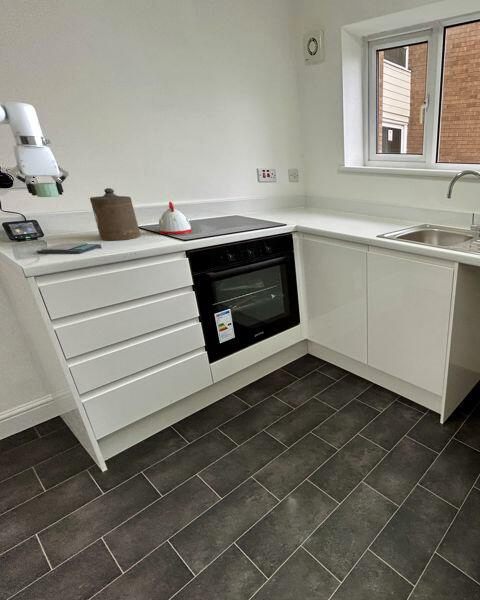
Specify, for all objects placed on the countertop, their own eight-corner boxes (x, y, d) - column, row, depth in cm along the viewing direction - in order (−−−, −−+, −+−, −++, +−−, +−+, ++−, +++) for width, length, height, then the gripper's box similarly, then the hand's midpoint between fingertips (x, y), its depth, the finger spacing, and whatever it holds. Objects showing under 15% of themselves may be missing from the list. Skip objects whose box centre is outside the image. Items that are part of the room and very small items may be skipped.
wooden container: (115, 234, 170) (102, 186, 162) (147, 234, 171) (136, 187, 163) (92, 240, 156) (77, 189, 148) (127, 241, 157) (114, 190, 149)
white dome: (162, 235, 170) (155, 204, 164) (158, 231, 179) (151, 201, 174) (194, 233, 178) (188, 202, 172) (189, 229, 188) (183, 200, 182)
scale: (38, 257, 128) (36, 249, 127) (63, 249, 139) (61, 242, 138) (81, 257, 130) (78, 249, 129) (102, 250, 141) (100, 242, 140)
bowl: (30, 197, 126) (26, 183, 125) (45, 195, 132) (41, 182, 131) (50, 197, 127) (46, 184, 126) (64, 195, 133) (60, 183, 132)
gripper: (60, 143, 132) (75, 193, 138) (-8, 140, 119) (12, 195, 125) (65, 143, 128) (80, 194, 134) (-4, 140, 115) (16, 196, 121)
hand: (47, 194), depth 130 cm, fingers closed on bowl, 6 cm apart
